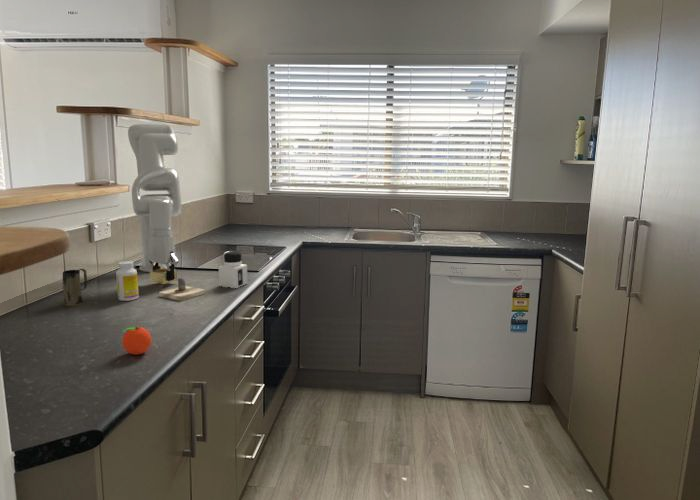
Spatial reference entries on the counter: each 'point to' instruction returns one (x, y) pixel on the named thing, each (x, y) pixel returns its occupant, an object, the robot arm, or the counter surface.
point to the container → (232, 270)
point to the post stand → (181, 291)
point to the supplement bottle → (127, 281)
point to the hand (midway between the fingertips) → (163, 278)
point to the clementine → (136, 340)
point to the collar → (161, 276)
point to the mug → (73, 287)
